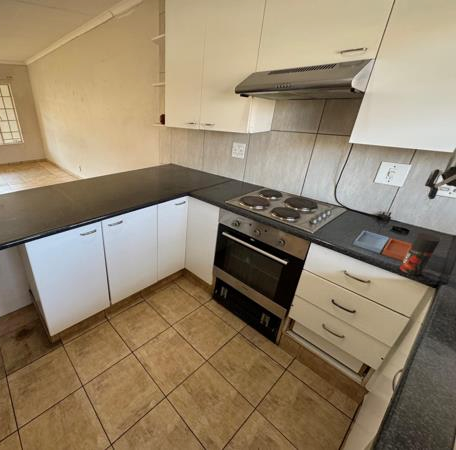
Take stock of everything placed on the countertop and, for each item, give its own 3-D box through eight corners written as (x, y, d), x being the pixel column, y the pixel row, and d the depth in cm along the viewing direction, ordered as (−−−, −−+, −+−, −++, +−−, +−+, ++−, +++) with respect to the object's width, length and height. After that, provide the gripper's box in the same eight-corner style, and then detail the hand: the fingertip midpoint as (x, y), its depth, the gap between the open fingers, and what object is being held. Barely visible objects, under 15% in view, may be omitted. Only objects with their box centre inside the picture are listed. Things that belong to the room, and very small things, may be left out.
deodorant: (424, 275, 93) (445, 241, 86) (408, 275, 93) (428, 241, 86) (410, 265, 98) (428, 233, 92) (395, 265, 99) (412, 233, 92)
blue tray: (387, 241, 115) (389, 237, 114) (379, 253, 107) (381, 249, 106) (362, 234, 122) (363, 230, 121) (353, 244, 113) (354, 240, 112)
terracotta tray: (417, 250, 108) (419, 246, 107) (411, 263, 100) (414, 259, 99) (389, 241, 115) (390, 238, 114) (381, 253, 106) (383, 249, 105)
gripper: (445, 150, 86) (427, 194, 87) (504, 159, 80) (483, 206, 81) (433, 157, 93) (415, 198, 94) (486, 166, 87) (467, 209, 88)
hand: (447, 202), depth 87 cm, fingers open, 8 cm apart
